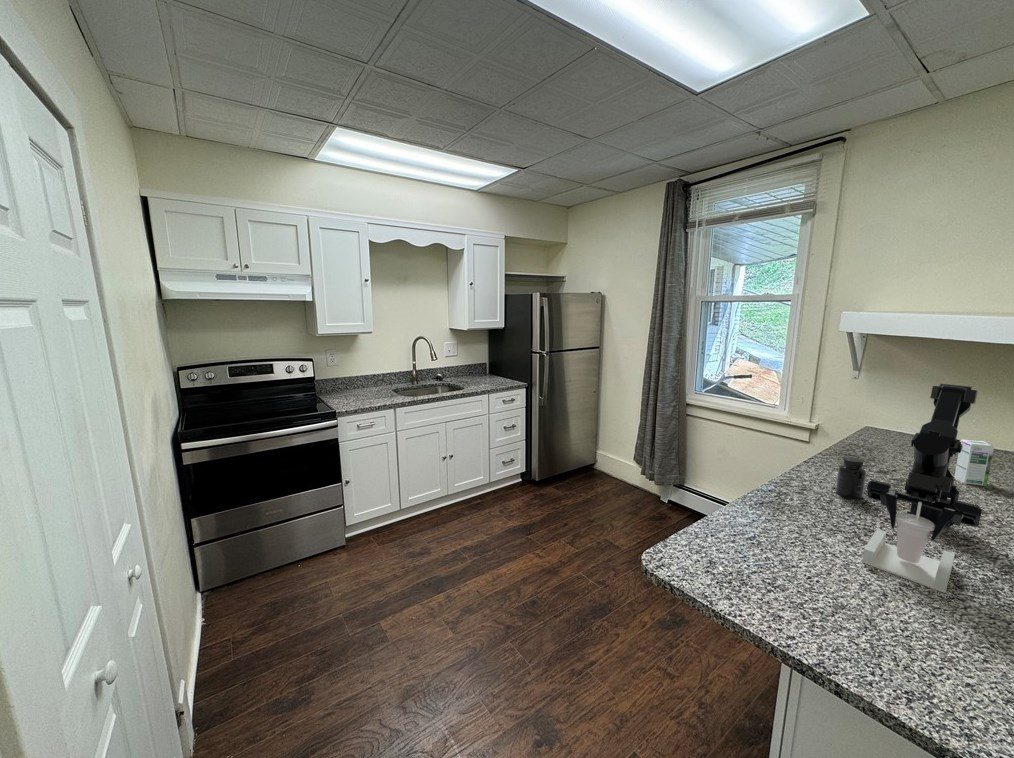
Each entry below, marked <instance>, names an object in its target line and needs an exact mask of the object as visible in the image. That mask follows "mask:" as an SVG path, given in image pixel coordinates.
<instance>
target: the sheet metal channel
mask: <svg viewBox="0 0 1014 758" xmlns="http://www.w3.org/2000/svg"><path fill="white" fill-rule="evenodd" d="M886 536H887V531H884V530H881V529H879V528H877V529H875V531H874V533H873V535H872V536H871V538H870V539H869V541H868V542H867V544H866V545H865V547H864V548H863V555H862V559H861V562H862V563H863V564H864V565H865V564H866V565H869V566H871V567H874V568H877V569H879V570H881V571H885V572H887V573H890V574H892V575H895V576H898V577H901V578H904V579H906V580H909V581H911V582H914V583H916V584H920V585H922V586H924V587H926V588H927V587H928V588H931V589H933V590H936V591H939V592H941V593H944V594H947V593H946V592H947V588H948V584H949V581H950V576H951V573H952V569H953V564H954V559H955V555H956V553H955V552H951V551H948V550H942V555H941V556H940V557H941V558H940V560H938V559H934V558H932V557H928V556H925V555H923V554H922V556H921V558H920V561H919V562H918V563H912V562H908V561H905V560H903V559H901V558H899V557H898V555H897V546H895V545H893V544H889V543H886Z"/></svg>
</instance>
